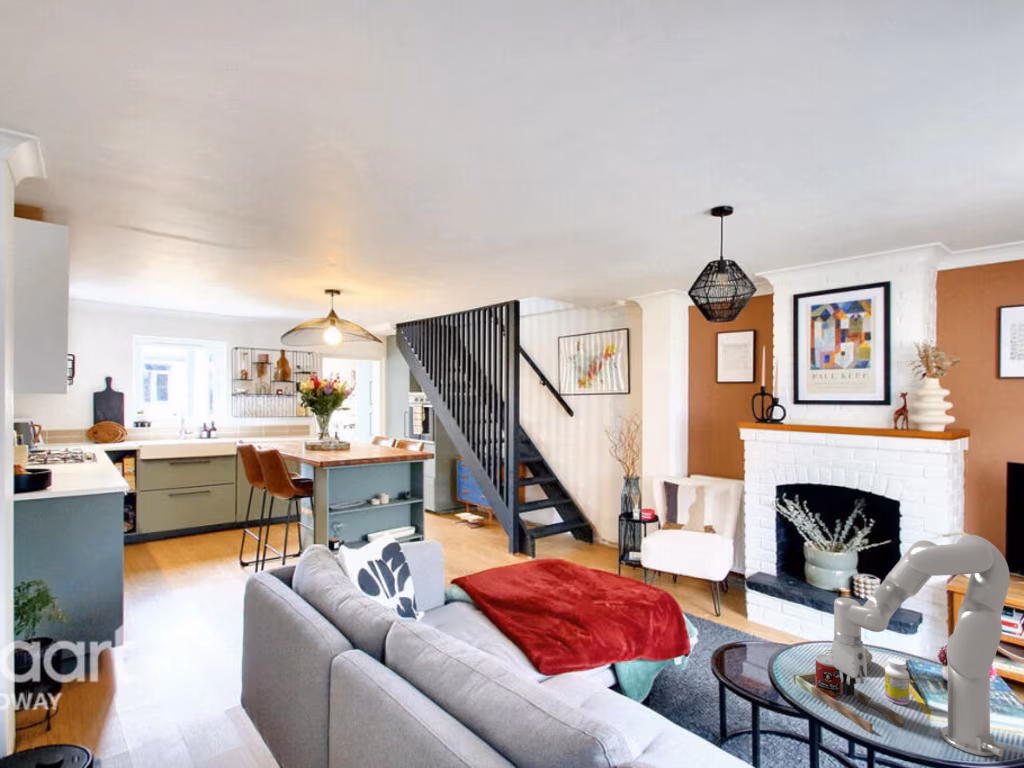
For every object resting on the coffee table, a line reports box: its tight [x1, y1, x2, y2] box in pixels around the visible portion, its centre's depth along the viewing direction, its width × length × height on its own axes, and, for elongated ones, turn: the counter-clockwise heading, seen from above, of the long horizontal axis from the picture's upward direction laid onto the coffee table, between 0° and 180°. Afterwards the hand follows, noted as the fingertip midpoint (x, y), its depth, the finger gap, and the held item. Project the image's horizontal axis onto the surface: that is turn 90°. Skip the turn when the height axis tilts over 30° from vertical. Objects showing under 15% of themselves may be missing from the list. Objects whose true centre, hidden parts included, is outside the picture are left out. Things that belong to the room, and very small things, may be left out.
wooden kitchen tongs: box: [793, 671, 905, 734], centre depth 181 cm, size 30×18×2 cm, turn 15°
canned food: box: [815, 653, 842, 699], centre depth 188 cm, size 8×8×11 cm
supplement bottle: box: [884, 657, 910, 706], centre depth 183 cm, size 7×7×13 cm
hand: (848, 694), depth 180 cm, fingers closed
